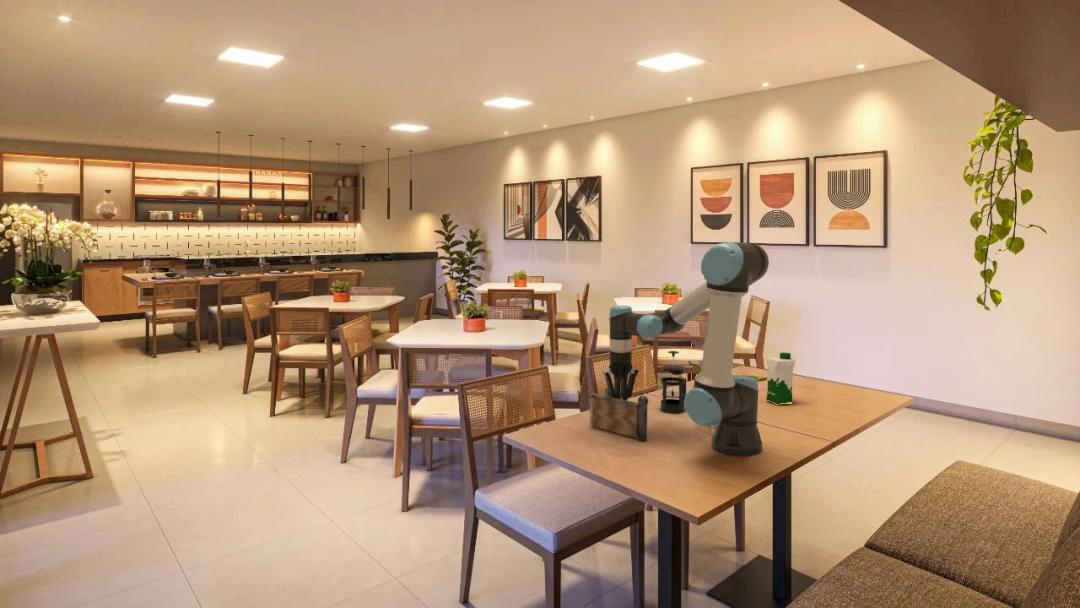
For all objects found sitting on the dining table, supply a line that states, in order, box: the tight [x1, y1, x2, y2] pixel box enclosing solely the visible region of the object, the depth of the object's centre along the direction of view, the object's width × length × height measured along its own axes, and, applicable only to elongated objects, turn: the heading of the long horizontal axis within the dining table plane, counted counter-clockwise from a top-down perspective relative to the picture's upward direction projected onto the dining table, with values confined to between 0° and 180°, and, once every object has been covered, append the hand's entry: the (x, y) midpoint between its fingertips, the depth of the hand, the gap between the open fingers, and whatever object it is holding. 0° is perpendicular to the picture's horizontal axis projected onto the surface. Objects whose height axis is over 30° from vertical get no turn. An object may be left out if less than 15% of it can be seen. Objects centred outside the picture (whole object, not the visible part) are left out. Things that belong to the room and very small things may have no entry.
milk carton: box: [765, 352, 796, 404], centre depth 248 cm, size 9×9×20 cm
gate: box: [588, 392, 639, 439], centre depth 211 cm, size 20×2×11 cm, turn 44°
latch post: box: [604, 387, 610, 397], centre depth 225 cm, size 2×3×12 cm, turn 110°
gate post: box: [637, 395, 649, 443], centre depth 203 cm, size 3×3×15 cm
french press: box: [659, 350, 687, 415], centre depth 238 cm, size 12×9×23 cm
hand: (620, 417), depth 216 cm, fingers closed
